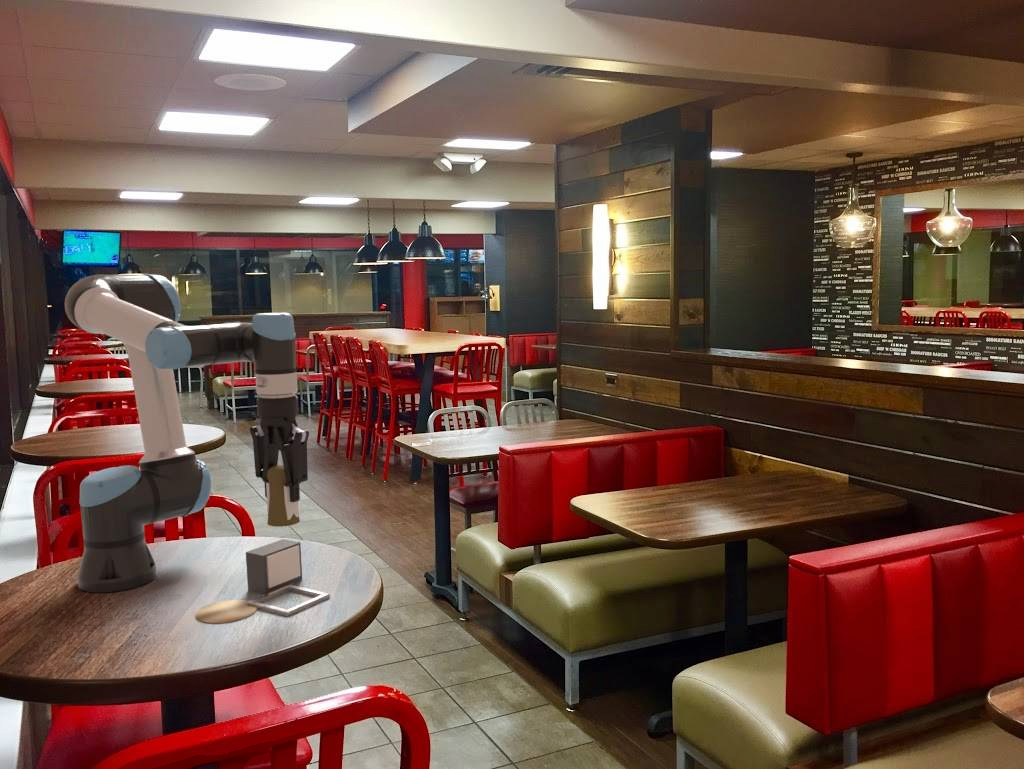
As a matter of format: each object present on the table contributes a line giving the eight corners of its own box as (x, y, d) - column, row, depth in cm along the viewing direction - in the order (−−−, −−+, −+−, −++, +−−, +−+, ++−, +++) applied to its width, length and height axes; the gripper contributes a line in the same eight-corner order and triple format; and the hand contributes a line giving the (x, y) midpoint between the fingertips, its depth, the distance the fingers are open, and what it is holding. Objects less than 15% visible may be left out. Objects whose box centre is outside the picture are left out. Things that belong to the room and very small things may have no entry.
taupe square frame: (246, 606, 169) (246, 602, 169) (289, 588, 179) (289, 584, 178) (287, 616, 163) (287, 612, 163) (329, 597, 173) (329, 593, 173)
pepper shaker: (261, 525, 167) (258, 468, 166) (276, 517, 173) (273, 462, 171) (291, 527, 166) (288, 469, 164) (305, 518, 172) (302, 462, 170)
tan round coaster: (183, 616, 165) (182, 614, 165) (230, 597, 174) (230, 596, 174) (222, 627, 159) (222, 625, 159) (269, 607, 168) (269, 606, 168)
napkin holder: (248, 590, 178) (245, 552, 177) (285, 576, 186) (283, 539, 185) (266, 595, 175) (264, 556, 174) (303, 580, 183) (301, 542, 182)
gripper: (230, 395, 168) (237, 515, 170) (295, 400, 159) (301, 527, 161) (260, 390, 174) (266, 506, 177) (324, 395, 165) (330, 517, 168)
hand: (283, 516), depth 169 cm, fingers closed on pepper shaker, 4 cm apart
